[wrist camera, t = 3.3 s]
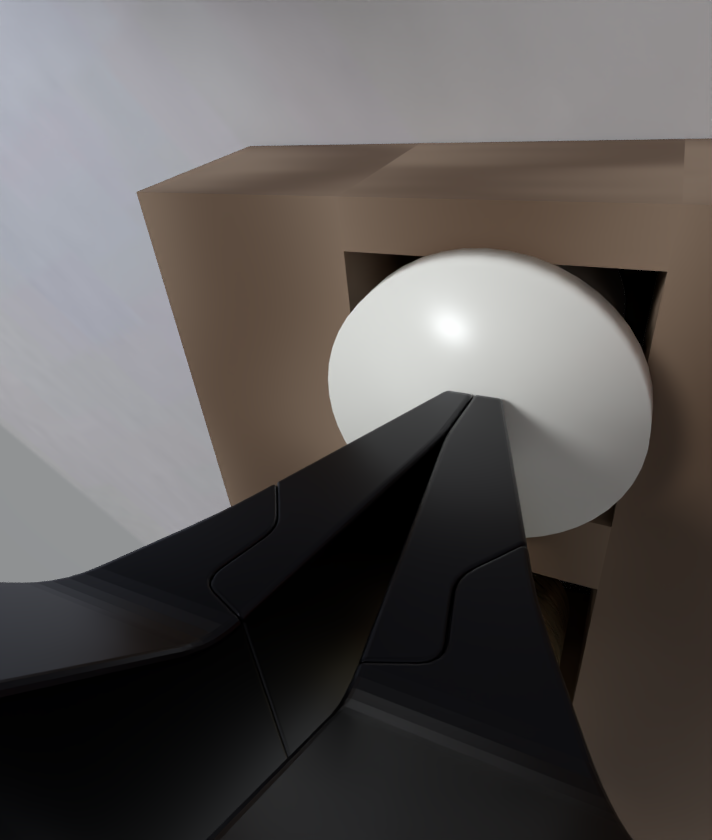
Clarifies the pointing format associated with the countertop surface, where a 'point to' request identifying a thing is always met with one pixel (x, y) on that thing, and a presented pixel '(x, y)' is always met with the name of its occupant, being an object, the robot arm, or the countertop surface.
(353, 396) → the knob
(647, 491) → the control panel
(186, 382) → the countertop surface
